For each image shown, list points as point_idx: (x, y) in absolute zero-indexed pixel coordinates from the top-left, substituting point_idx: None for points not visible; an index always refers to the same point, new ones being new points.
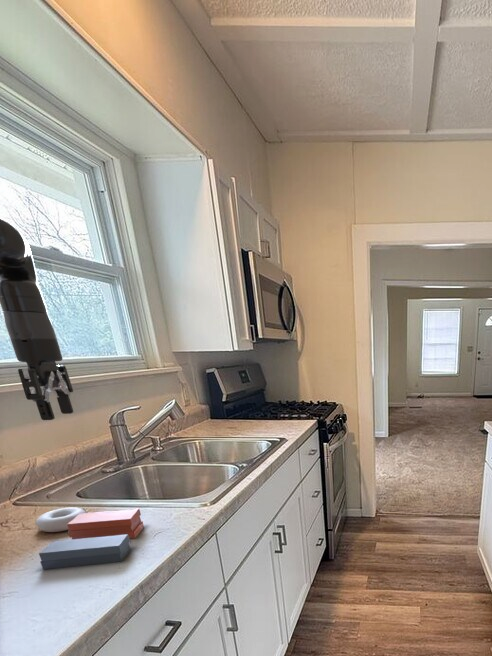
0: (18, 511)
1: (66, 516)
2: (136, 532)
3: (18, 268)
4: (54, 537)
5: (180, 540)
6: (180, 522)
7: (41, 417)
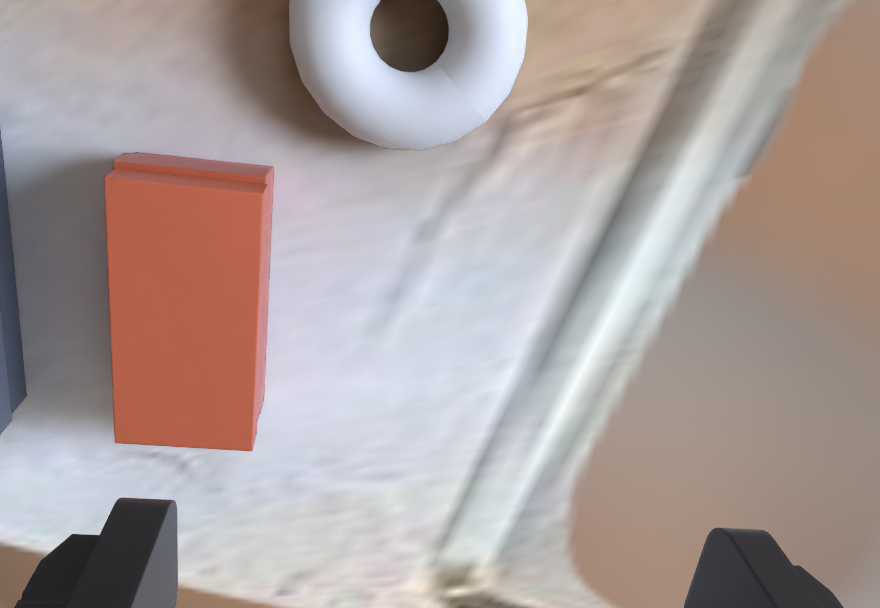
0: None
1: (340, 87)
2: None
3: None
4: (249, 28)
5: None
6: (274, 520)
7: (110, 518)
